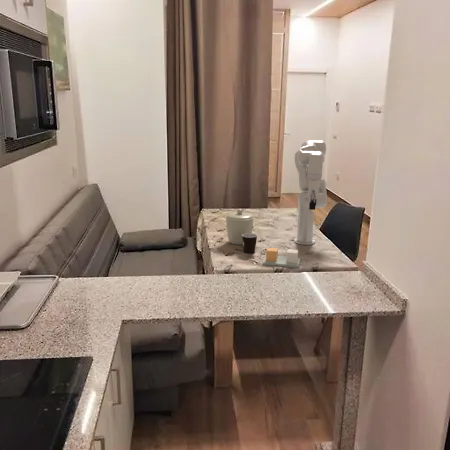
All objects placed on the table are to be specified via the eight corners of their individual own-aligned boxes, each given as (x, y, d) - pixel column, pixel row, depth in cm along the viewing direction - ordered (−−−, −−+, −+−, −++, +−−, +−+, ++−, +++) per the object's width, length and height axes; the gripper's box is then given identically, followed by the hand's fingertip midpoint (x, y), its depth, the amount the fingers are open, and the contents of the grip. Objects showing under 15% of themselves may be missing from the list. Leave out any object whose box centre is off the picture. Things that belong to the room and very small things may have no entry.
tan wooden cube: (267, 257, 246) (267, 247, 245) (277, 257, 245) (277, 248, 244) (266, 260, 241) (266, 250, 240) (276, 261, 240) (276, 251, 239)
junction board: (265, 256, 250) (266, 245, 249) (300, 259, 246) (300, 248, 245) (262, 264, 238) (262, 252, 236) (298, 267, 234) (299, 255, 232)
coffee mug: (255, 254, 253) (256, 237, 251) (240, 253, 255) (240, 236, 252) (258, 248, 264) (258, 232, 262) (243, 247, 266) (244, 231, 263)
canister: (220, 244, 271) (220, 210, 265) (230, 236, 287) (231, 204, 282) (248, 248, 264) (249, 213, 259) (257, 240, 281) (258, 207, 275)
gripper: (308, 173, 250) (306, 203, 255) (306, 178, 234) (304, 210, 239) (322, 174, 248) (320, 204, 253) (321, 179, 232) (318, 211, 237)
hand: (312, 207), depth 246 cm, fingers open, 9 cm apart
